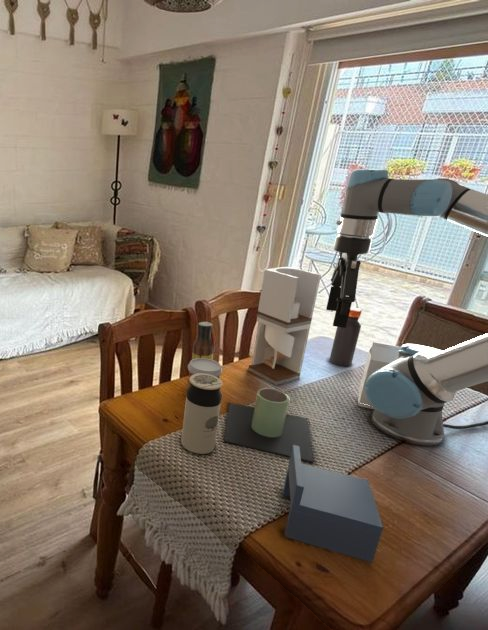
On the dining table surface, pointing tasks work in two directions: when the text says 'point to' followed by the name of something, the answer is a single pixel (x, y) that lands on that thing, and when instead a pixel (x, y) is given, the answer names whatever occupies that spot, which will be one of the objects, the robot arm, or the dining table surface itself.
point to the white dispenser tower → (284, 323)
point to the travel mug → (201, 413)
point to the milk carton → (376, 366)
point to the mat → (282, 445)
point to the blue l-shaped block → (331, 510)
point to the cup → (270, 412)
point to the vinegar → (346, 340)
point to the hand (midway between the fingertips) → (335, 318)
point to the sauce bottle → (203, 342)
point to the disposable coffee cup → (204, 367)
